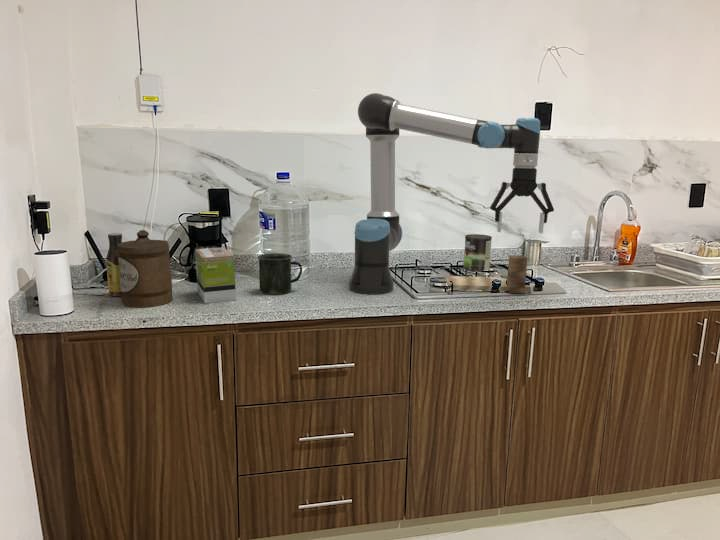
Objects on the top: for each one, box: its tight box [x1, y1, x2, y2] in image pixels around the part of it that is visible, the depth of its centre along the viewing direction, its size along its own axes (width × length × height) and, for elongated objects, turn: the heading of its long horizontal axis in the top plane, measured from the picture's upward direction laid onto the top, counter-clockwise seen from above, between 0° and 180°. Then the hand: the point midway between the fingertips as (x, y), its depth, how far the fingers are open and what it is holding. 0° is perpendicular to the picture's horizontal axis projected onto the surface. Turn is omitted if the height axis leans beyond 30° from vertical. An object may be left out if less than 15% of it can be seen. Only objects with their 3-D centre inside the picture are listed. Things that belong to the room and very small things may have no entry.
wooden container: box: [117, 229, 174, 308], centre depth 172 cm, size 15×15×22 cm
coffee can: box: [463, 233, 493, 272], centre depth 222 cm, size 10×10×14 cm
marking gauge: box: [507, 254, 528, 294], centre depth 194 cm, size 5×13×12 cm, turn 176°
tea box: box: [194, 246, 237, 304], centre depth 179 cm, size 15×10×15 cm
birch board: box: [444, 275, 532, 294], centre depth 198 cm, size 28×14×2 cm, turn 86°
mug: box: [257, 252, 303, 296], centre depth 187 cm, size 11×15×12 cm
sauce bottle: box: [105, 232, 123, 297], centre depth 179 cm, size 7×6×20 cm
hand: (519, 232), depth 187 cm, fingers open, 13 cm apart
